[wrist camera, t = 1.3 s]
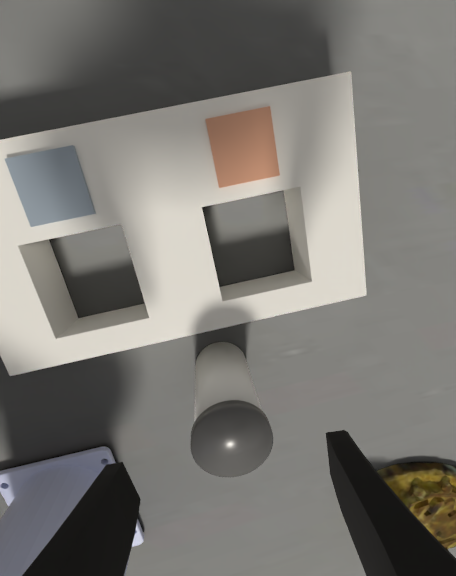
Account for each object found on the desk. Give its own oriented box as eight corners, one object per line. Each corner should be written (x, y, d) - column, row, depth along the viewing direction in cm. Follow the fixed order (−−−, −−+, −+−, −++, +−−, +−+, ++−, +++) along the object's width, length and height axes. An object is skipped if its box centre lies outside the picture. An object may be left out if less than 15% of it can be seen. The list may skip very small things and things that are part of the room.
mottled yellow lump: (495, 460, 27) (350, 441, 24) (558, 506, 22) (388, 488, 20) (461, 546, 28) (321, 536, 26) (515, 606, 24) (350, 601, 21)
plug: (252, 382, 21) (278, 466, 14) (200, 394, 20) (201, 485, 14) (242, 334, 20) (266, 400, 13) (187, 347, 19) (181, 420, 13)
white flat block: (341, 282, 19) (368, 296, 16) (39, 350, 18) (7, 378, 15) (323, 95, 16) (353, 69, 13) (-39, 167, 15) (-99, 157, 12)
